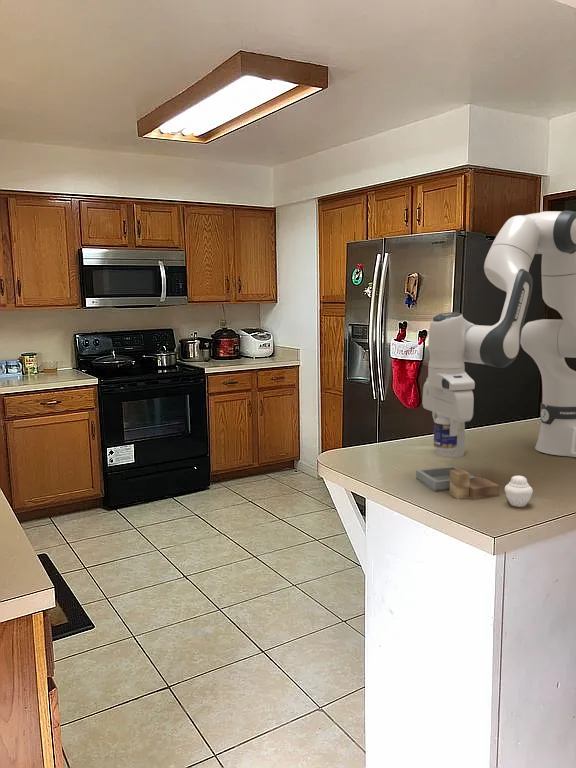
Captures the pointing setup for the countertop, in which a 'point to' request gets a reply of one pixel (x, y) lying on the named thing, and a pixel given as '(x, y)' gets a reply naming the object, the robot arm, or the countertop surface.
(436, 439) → the pill bottle
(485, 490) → the brown flat block
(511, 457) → the countertop surface
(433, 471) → the tray
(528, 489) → the white lidded jar
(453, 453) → the cup
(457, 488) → the block
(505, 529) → the countertop surface
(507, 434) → the countertop surface
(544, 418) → the robot arm
